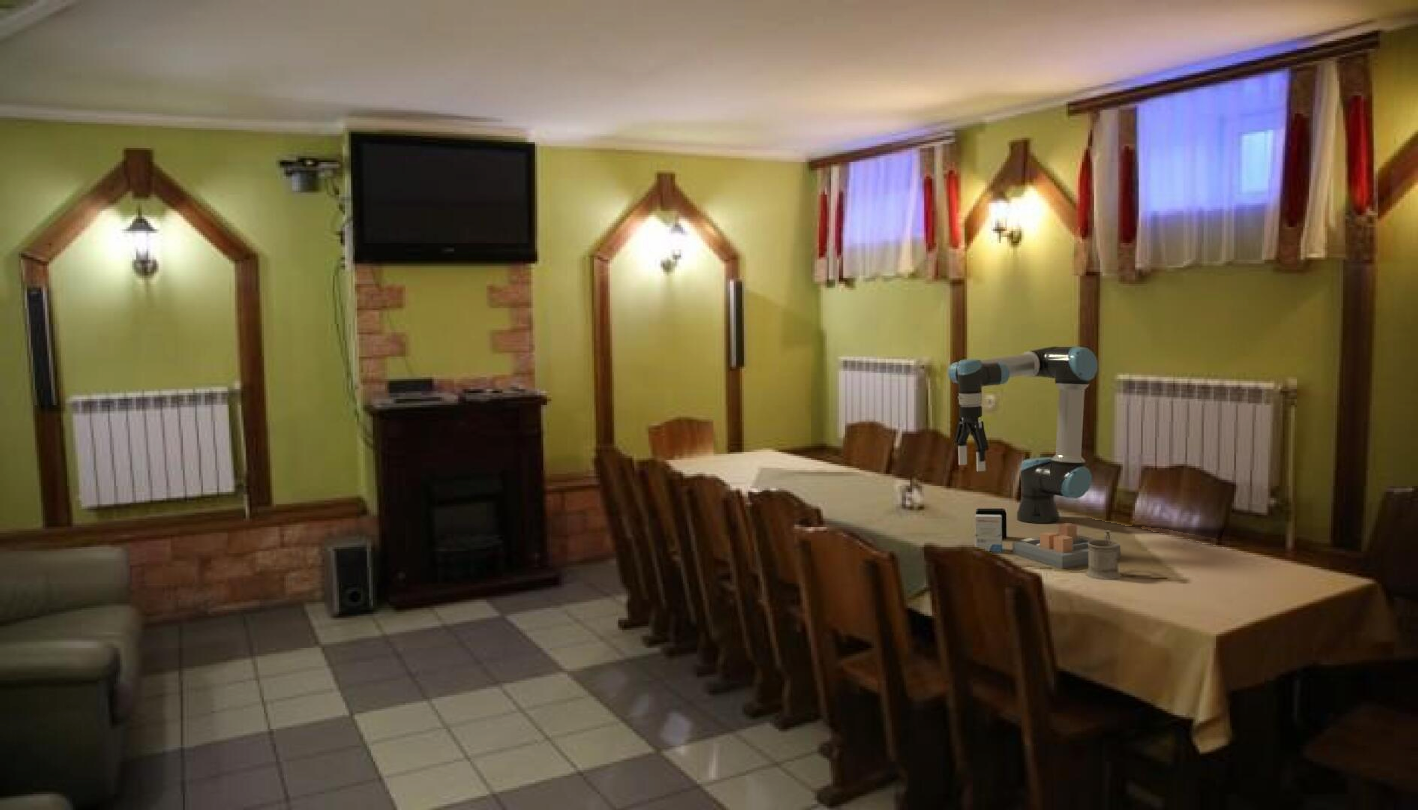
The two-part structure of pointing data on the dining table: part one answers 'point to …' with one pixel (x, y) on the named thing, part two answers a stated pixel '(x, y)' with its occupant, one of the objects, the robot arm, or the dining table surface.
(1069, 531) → the tab
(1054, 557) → the grey divided tray
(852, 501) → the dining table surface
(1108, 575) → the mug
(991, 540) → the ink box
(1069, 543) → the orange block
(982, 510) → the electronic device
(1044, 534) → the tab
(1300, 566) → the dining table surface
